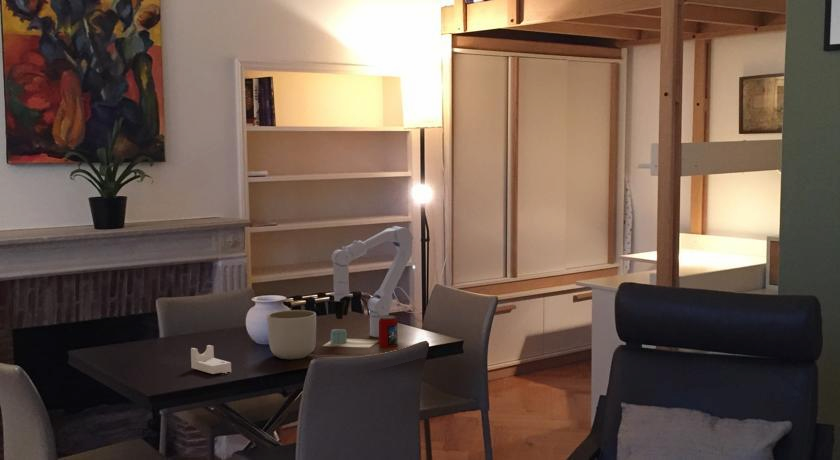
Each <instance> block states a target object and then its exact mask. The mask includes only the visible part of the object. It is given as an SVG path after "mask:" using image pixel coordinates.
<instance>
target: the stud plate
mask: <svg viewBox="0 0 840 460" xmlns="http://www.w3.org/2000/svg"><path fill="white" fill-rule="evenodd" d="M377 343H379V339H364V338H347V342H346V343H342V344H333V343H331V340H329V341H328V342H326V343H325V344H323V345H322V347H341V348H365V349H366V348H371V347H373V346H374V345H375V344H377Z"/></svg>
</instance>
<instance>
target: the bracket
mask: <svg viewBox="0 0 840 460" xmlns="http://www.w3.org/2000/svg"><path fill="white" fill-rule="evenodd" d="M214 347H215V346H214V345H210V344H208V345H206V349H205V351H204V352H203V353H200V352H199V351H198V350H199V349H198V348H195V347H191V348H190V361H191V363H190V364H191V369H195V370H197V371H201V372H204V373H208V374H210V375H211V374H212V375H215V374H220V373H225V374H228V373H227V372H230V373H232V362H230V361H227V360H223V359H221V358H220V359H219V358H216V357H215V354H214V353H215V352H214V351H215V349H214Z"/></svg>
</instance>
